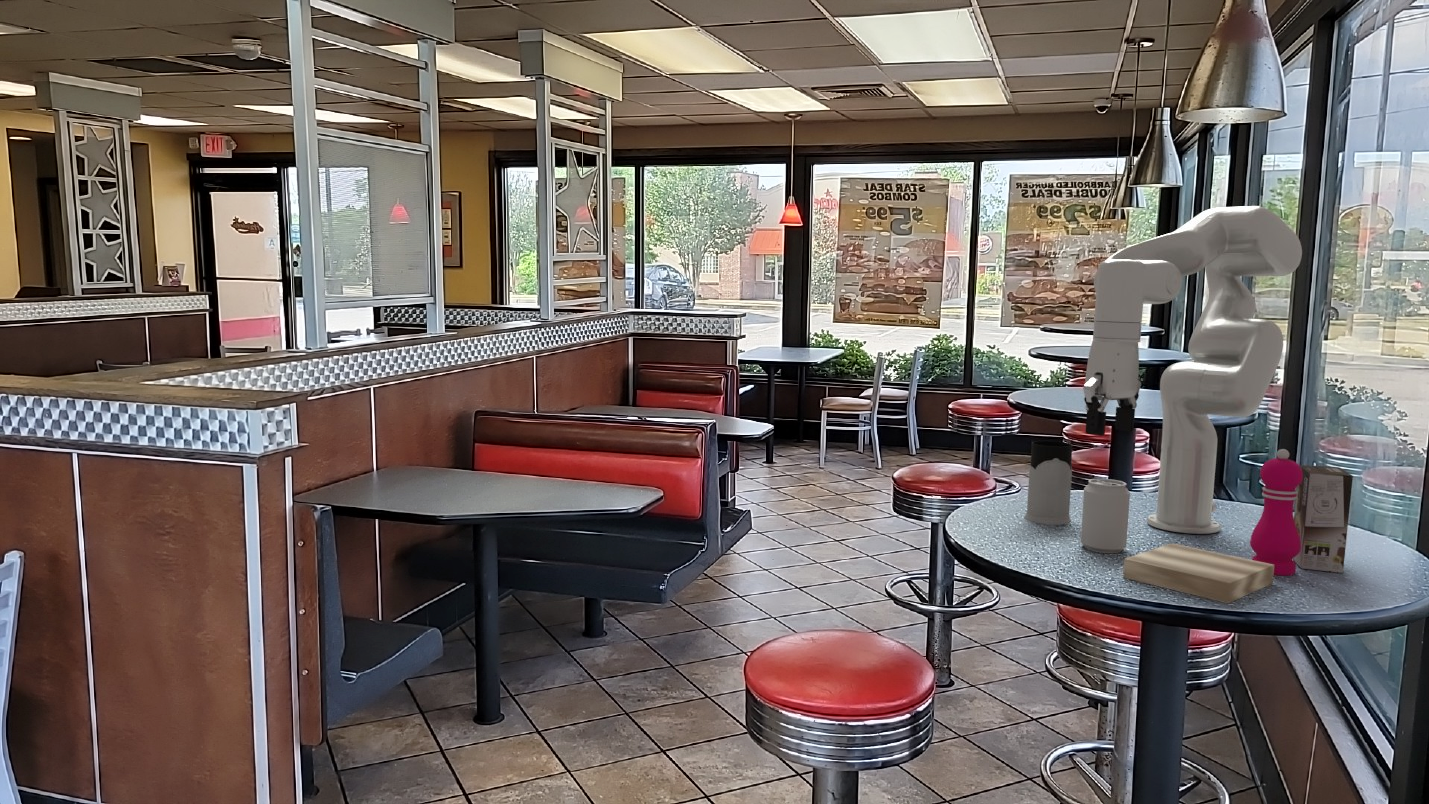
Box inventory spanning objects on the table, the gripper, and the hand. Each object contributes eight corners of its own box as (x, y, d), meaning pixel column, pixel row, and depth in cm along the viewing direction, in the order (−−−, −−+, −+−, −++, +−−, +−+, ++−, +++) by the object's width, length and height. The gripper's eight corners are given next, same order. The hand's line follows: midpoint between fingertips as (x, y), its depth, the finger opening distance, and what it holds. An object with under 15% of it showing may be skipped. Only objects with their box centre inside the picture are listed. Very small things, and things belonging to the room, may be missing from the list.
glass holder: (1029, 523, 193) (1033, 446, 191) (1014, 507, 207) (1018, 435, 205) (1076, 525, 192) (1081, 448, 190) (1058, 509, 206) (1062, 436, 204)
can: (1130, 555, 171) (1134, 486, 170) (1083, 552, 173) (1088, 483, 171) (1121, 544, 178) (1126, 478, 177) (1077, 541, 180) (1081, 475, 178)
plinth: (1170, 560, 168) (1172, 543, 168) (1272, 583, 156) (1274, 564, 156) (1122, 577, 158) (1124, 558, 158) (1228, 603, 146) (1229, 583, 146)
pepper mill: (1239, 563, 168) (1249, 444, 165) (1283, 564, 167) (1294, 446, 165) (1261, 576, 160) (1272, 452, 158) (1307, 577, 160) (1319, 453, 158)
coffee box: (1345, 573, 163) (1354, 475, 161) (1299, 569, 165) (1308, 472, 163) (1332, 559, 171) (1341, 466, 169) (1289, 555, 173) (1297, 463, 171)
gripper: (1121, 331, 179) (1114, 426, 181) (1069, 332, 168) (1062, 433, 170) (1162, 333, 174) (1155, 431, 176) (1112, 334, 163) (1104, 439, 164)
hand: (1109, 432), depth 173 cm, fingers open, 9 cm apart
